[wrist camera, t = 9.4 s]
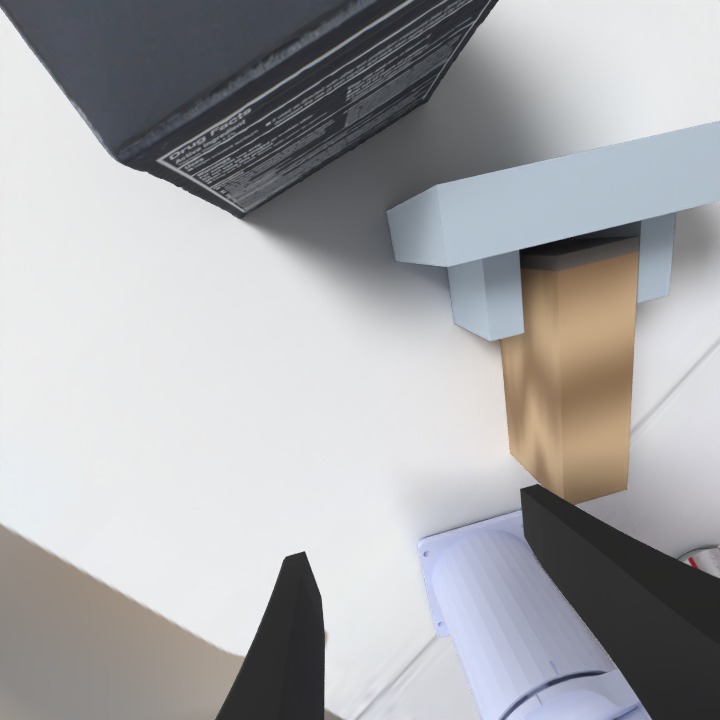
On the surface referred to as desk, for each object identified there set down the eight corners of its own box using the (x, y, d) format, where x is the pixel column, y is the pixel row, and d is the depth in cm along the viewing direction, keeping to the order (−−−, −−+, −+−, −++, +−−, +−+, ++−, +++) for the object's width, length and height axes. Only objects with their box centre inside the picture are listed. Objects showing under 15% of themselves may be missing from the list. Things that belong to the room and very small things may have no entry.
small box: (361, -73, 13) (504, -968, 4) (432, 101, 16) (646, -161, 6) (138, 74, 14) (-287, -364, 4) (237, 224, 16) (120, 180, 6)
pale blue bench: (642, 276, 20) (810, 288, 13) (408, 335, 19) (461, 380, 12) (648, 151, 18) (853, 90, 11) (386, 211, 17) (436, 184, 10)
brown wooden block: (560, 439, 22) (626, 489, 18) (510, 453, 22) (564, 507, 17) (554, 239, 18) (639, 235, 14) (493, 254, 18) (557, 255, 13)
